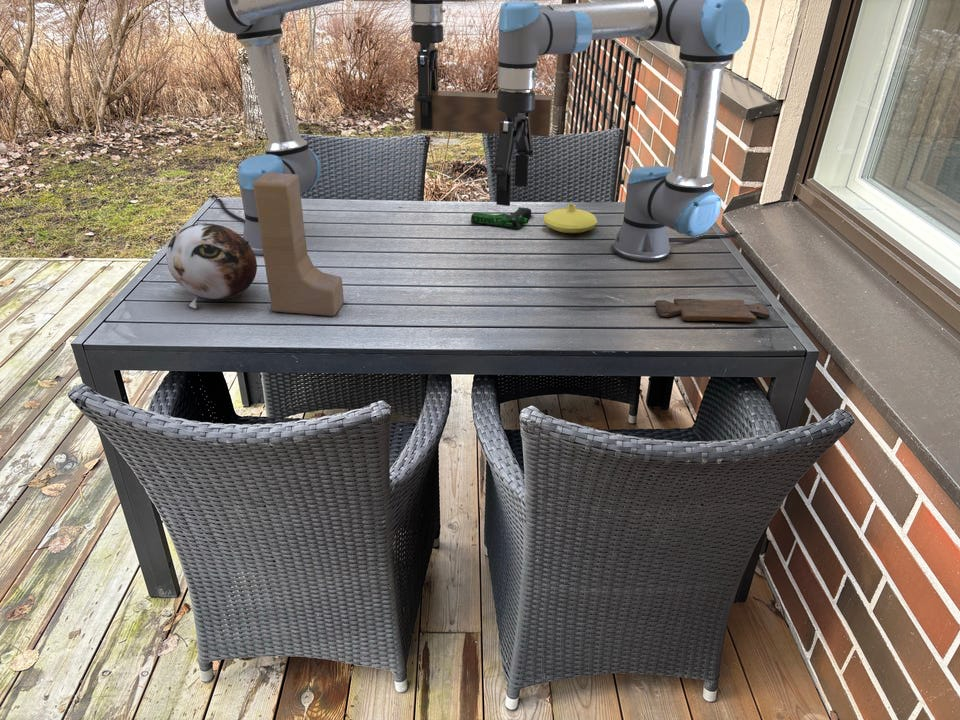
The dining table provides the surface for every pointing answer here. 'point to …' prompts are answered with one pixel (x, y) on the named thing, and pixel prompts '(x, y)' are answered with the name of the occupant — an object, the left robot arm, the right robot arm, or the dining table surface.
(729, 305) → the wooden paddle board
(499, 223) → the handgun
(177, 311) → the dining table surface
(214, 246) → the cat face balloon
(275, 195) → the decorative block
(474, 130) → the bar
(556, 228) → the yellow round domed disc
